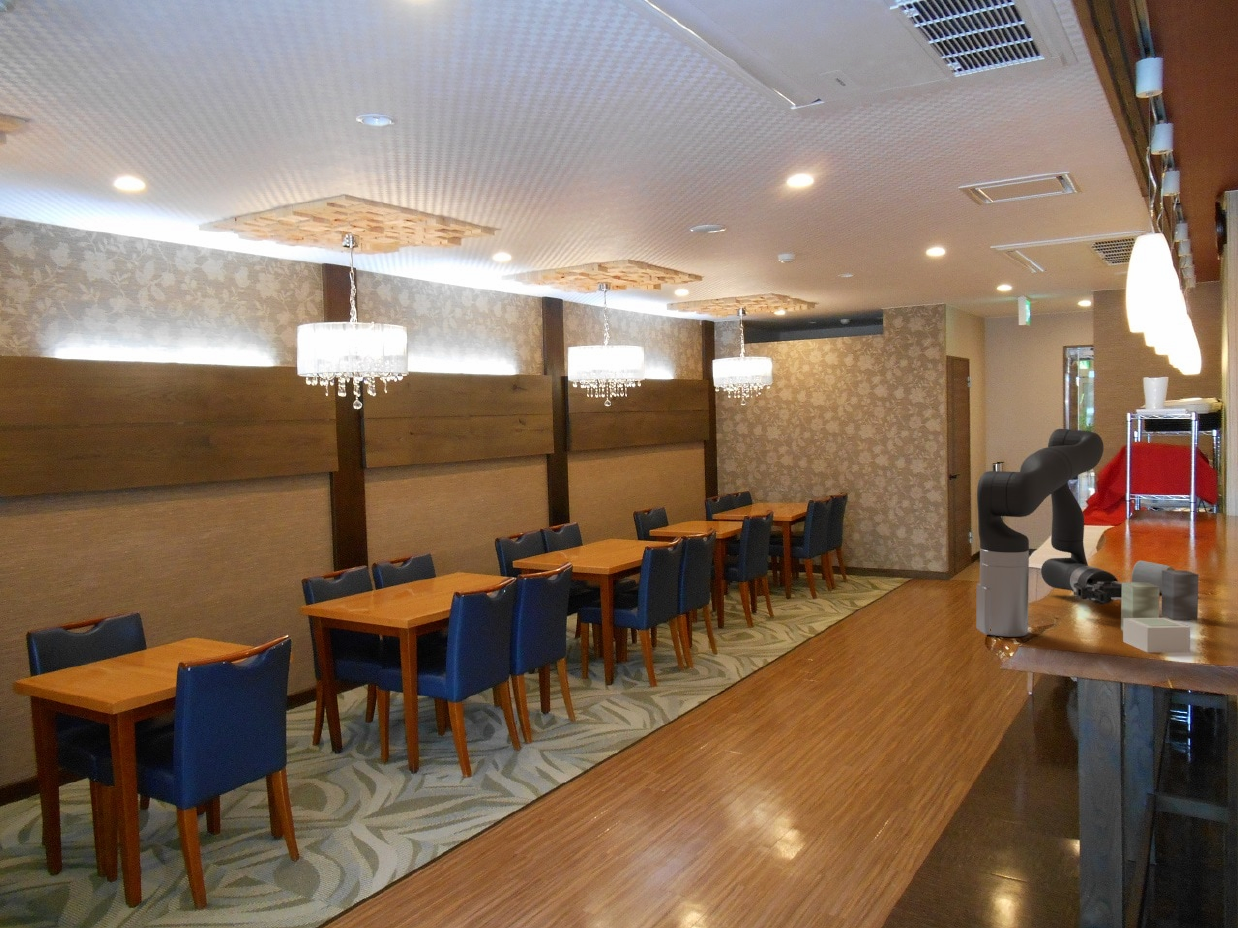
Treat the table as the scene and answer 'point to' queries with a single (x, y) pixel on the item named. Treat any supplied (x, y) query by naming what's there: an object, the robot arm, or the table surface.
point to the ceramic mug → (1149, 573)
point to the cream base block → (1156, 634)
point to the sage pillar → (1139, 600)
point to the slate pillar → (1179, 595)
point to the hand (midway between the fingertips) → (1126, 598)
